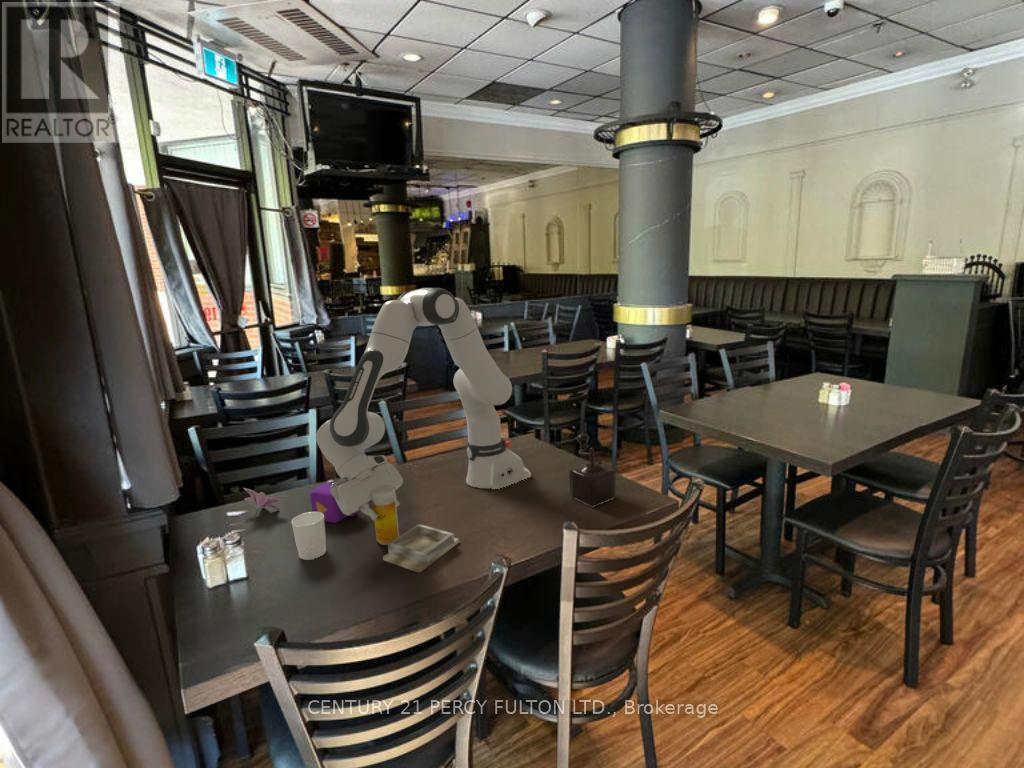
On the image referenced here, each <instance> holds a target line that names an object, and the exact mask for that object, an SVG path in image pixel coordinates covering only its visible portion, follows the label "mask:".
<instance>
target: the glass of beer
mask: <svg viewBox="0 0 1024 768" xmlns="http://www.w3.org/2000/svg"><path fill="white" fill-rule="evenodd" d="M395 492H396V490H394V489H393V487H392V486H390V485H381V486H378V487H375V488H374V489H373V492H372V503H371V504H372V510H373V511H376V510H377V512H378V513H379V514H380V516H379V517H378V518H377V519H375V520H373V521H374V529H375V538H376V540H375V541H377V543H378V544H379V545H382V546H388V544H389V543H390V542H392V541H393V540H395V539H396V538H398V537H399V536H400V530H399V529H400V528H399V521H398V519H399V518H398V517H399V516H398V507H396V498H397V495H396V496H395Z"/></svg>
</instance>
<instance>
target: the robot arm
mask: <svg viewBox="0 0 1024 768" xmlns="http://www.w3.org/2000/svg"><path fill="white" fill-rule="evenodd" d="M418 326H419V327H430V326H438V327H439V329H440V330H441V334H442V337H443V340H444V342H445V343H446V344H445V345H446V346H447V349H448V351H449V354H450V356H451V359H452V361H453V362H454V363H455V364H456V365H457V366H458V367H459V368H458V370H457V371H456V372H455V373H454V376H453V380H452V381H453V386H454V388H455V390H456V392H457V393H458V395H459V398H460V401H461V404H462V407H463V411H464V415H465V419H466V425H467V426H466V427H467V429H466V430H467V439H468V440H467V443H466V444H467V445H466V446H467V448H466V453H467V458H468V467H467V474H466V478H465V483H466V484H467V485H468V486H471V487H472V488H476V487H477V489H490V488H491V490H495V489H499V490H501V489H500V488H502V489H504V488H503V487H505V488H507V487H509V485H510V486H512V485H511V484H513V485H515V484H517V482H518V483H520V482H519V481H521V480H523V481H525V480H524V479H526V480H528V479H527V478H529V477H532V473H531V471H530V470H529V469H528V468H526V466H525V465H524V462H523V460H522V458H521V457H520V455H518V454H516V453H515V452H513V451H511V450H510V449H508V448H512V446H513V444H512V442H511V441H509V440H507V439H504V438H502V434H501V433H502V430H501V418H500V416H499V413H498V412H497V410H496V409H495V406H502V405H503V404H505V403H506V402H507V401H509V399H510V398H511V395H512V392H513V386H512V382H511V380H510V379H509V378H508V377H507V376H506V375H505V374H504V373H503V371H501V369H500V368H499V366H498V365H497V364H496V362H495V360H494V359H493V357H492V355H491V354H490V352H489V351H488V349H487V347H486V345H485V343H484V340H483V337H482V336H481V333H480V330H479V327H478V325H477V322H476V321H475V318H474V316H473V314H472V311H471V310H470V308H469V307H468V305H467V304H466V302H465V301H464V300H463V299H462V298H459V297H455V296H454V294H452V292H451V291H449V290H447V289H445V288H443V287H442V288H441V287H421V288H418V289H414V290H413V289H411V290H410V289H409V290H408V291H405V292H403V293H402V294H401V295H399V296H398V298H397V299H392V300H387V301H386V302H384V303H383V304H382V306H381V308H380V310H379V312H378V314H377V315H376V318H375V320H374V323H373V326H372V329H371V332H370V335H369V338H368V342H367V344H366V347H365V350H364V353H363V354H362V355H361V357H360V360H359V362H358V363H357V366H356V368H355V371H354V373H353V375H352V378H351V381H350V384H349V386H348V389H347V391H346V393H345V396H344V399H343V401H342V403H341V404H340V406H339V407H338V408H337V410H336V411H335V412H334V413H333V416H331V418H330V419H329V420H327V421H325V422H324V423H322V424H321V426H320V427H319V428H318V429H317V431H316V434H315V440H316V443H317V446H318V448H319V449H320V451H321V452H322V454H323V456H324V457H325V458H326V460H327V461H328V462H329V463H331V465H332V466H333V467H334V468H335V471H336V474H337V476H339V478H340V480H338V481H335V482H334V483H333V484H332V486H331V487H330V492H331V494H332V495H333V497H334V498H335V500H336V502H337V504H338V506H339V508H340V509H341V511H342V513H343V514H345V515H348V516H349V515H350V514H352V513H354V512H356V511H357V512H358V511H359V510H360V511H361V513H363V514H364V515H366V516H368V517H369V518H370V519H371V520H372V521H374V520H375V519H377V518H378V517H379V516H380V514H379V513H378V512H377V510H376V511H373V509H372V508H370V505H371V504H373V503H372V492H373V489H374V488H375V487H378V486H381V485H390V486H392V487H393V489H394V490H395V496H396V507H397V508H398V507H399V506H400V501H399V500H398V499H397V498H398V497H397V493H396V490H398V489H400V488H401V486H402V485H403V483H404V479H403V476H402V475H401V473H400V472H399V471H398V470H397V468H396V467H395V466H394V465H393V464H392V463H389V462H388V459H387V457H386V456H385V455H383V454H382V455H367V454H366V453H365V452H364V451H365V450H367V449H369V448H371V447H373V446H374V445H376V444H378V443H379V442H380V441H381V440H382V439H383V437H384V436H385V432H386V424H385V421H384V419H383V417H381V416H380V415H379V414H378V413H375V412H373V411H368V409H369V405H370V403H371V400H372V399H373V395H374V392H375V390H376V388H377V384H378V381H380V379H381V377H383V376H384V375H385V374H386V373H389V372H392V371H394V370H395V369H398V368H399V367H401V366H402V364H403V362H404V360H405V359H406V357H407V354H408V352H409V348H410V344H411V341H412V336H413V332H414V331H415V329H416V327H418ZM529 479H530V478H529ZM521 482H522V481H521ZM514 483H515V484H514ZM506 486H507V487H506ZM332 487H333V488H332Z"/></svg>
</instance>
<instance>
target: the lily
mask: <svg viewBox="0 0 1024 768" xmlns="http://www.w3.org/2000/svg"><path fill="white" fill-rule="evenodd" d="M242 488H243V490H244V491H246V492H247V493H248V495H250V497H249V496H248V497H245V498H244V500H245V501H250V502H253V503H255V504H256V506H257V509H256V512H255V517H254V522H256V521H257V515H258V511H259V509H260V508H262V509H265V508H267V507H269V508H272V509H274V510H277V511H279V510H280V508H278V506H276V505H275V504H277V503H281V502H284V500H282V499H280V498H278V497H274V496H267V494H265V493H264V492H263V491H260V492H257V491H255V490H252V489H250V488H246V487H242Z"/></svg>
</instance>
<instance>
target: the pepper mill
mask: <svg viewBox="0 0 1024 768" xmlns="http://www.w3.org/2000/svg"><path fill="white" fill-rule="evenodd" d="M576 440H577V442H578V443H579V444H580V445H579V448H580V449H579V450H578V454H579V455H581V456H582V455H584V456H589V457H590V462H588V463H585V464H581V465H579V466H577V467H572V468H571V469H569V473H568V475H569V496H570V495H571V496H572V497H574V498H577V499H579V500H581V501H583V502H585V503H587V504H589V505H591V506H594V505H597V504H599V503H601V502H604V501H606V500H608V499H611V498H613V497H615V496H616V490H617V489H616V481H617V479H616V478H617V477H616V476H617V474H616V473H617V472H616V469H615V470H614V469H612V468H610V467H608V466H607V465H605V464H603V463H602V461H601V460H599V461H598V462H595V460H594V457H595V452H594V451H595V449H594V447H590V448H589V445H588V441H589V440H590V436H589V435H588V434H587V433H580V434H579V435H577V437H576ZM587 448H589V452H586V451H585V450H586V449H587ZM584 451H585V452H584Z"/></svg>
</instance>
